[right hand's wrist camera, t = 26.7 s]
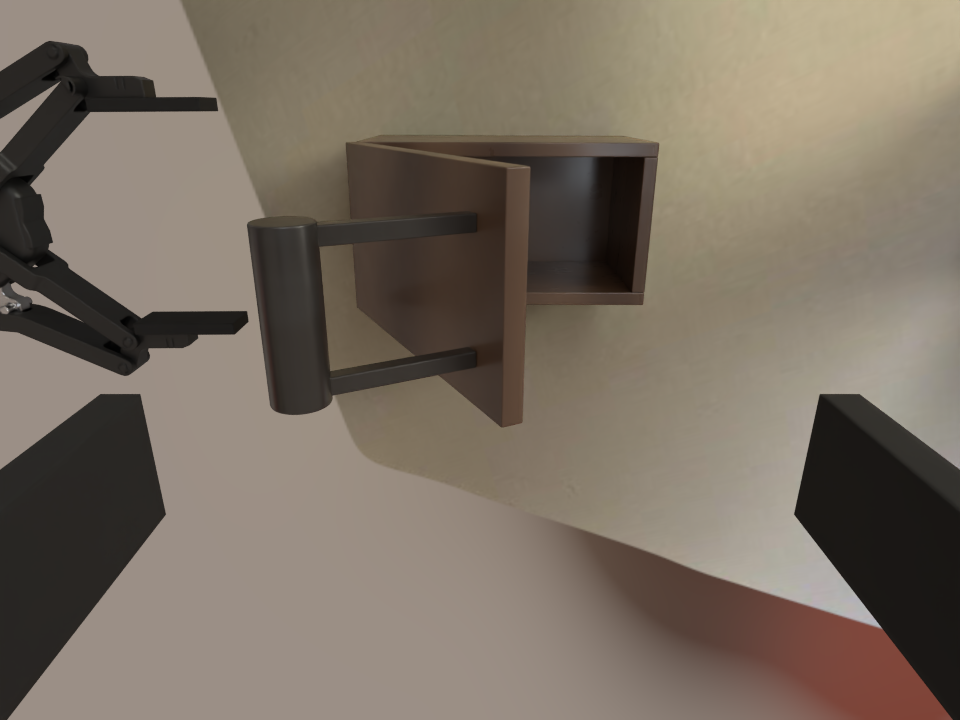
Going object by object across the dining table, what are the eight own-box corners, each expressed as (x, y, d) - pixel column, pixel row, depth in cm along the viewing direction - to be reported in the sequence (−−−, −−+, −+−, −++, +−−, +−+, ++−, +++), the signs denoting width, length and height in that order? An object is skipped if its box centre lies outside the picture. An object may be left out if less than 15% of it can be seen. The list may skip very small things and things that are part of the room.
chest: (624, 136, 45) (659, 142, 36) (613, 269, 48) (643, 305, 39) (379, 135, 45) (355, 141, 36) (386, 268, 48) (365, 304, 39)
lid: (531, 166, 21) (254, 178, 17) (523, 423, 25) (291, 480, 21) (361, 141, 36) (191, 145, 32) (371, 305, 39) (219, 326, 35)
